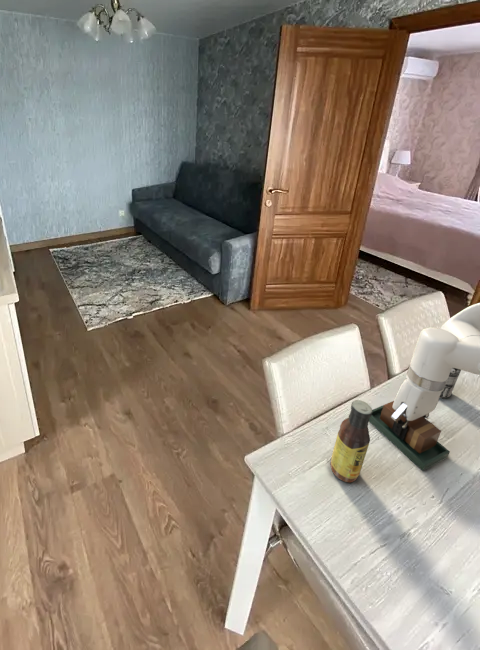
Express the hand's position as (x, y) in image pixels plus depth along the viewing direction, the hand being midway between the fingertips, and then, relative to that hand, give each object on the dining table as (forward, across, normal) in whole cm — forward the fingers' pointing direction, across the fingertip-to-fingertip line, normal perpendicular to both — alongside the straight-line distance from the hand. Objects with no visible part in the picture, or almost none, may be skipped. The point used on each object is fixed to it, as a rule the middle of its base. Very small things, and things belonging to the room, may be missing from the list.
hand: (407, 430), depth 89 cm
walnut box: (+1, 0, 0) cm, 1 cm away
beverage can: (+3, -24, -7) cm, 25 cm away
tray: (+2, 0, 0) cm, 2 cm away
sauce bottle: (+2, +22, +1) cm, 22 cm away
